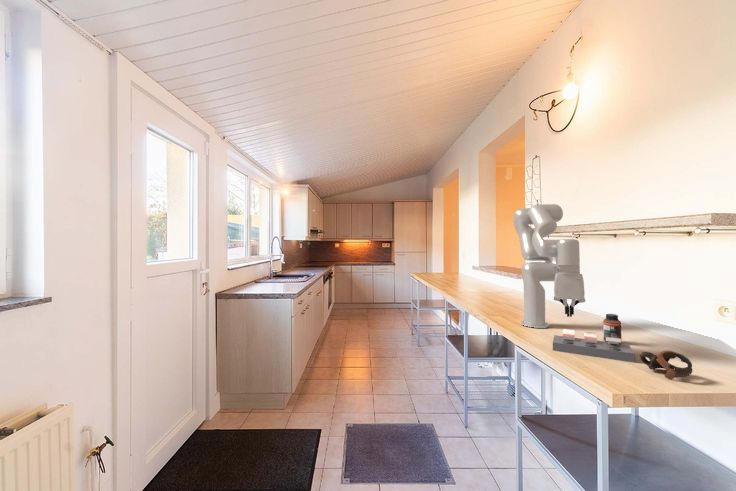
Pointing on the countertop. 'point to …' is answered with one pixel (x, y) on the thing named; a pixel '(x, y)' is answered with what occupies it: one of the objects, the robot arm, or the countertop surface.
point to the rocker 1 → (568, 334)
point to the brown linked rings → (662, 362)
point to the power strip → (594, 348)
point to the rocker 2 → (613, 340)
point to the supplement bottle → (611, 327)
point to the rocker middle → (590, 337)
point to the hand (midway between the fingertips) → (569, 316)
